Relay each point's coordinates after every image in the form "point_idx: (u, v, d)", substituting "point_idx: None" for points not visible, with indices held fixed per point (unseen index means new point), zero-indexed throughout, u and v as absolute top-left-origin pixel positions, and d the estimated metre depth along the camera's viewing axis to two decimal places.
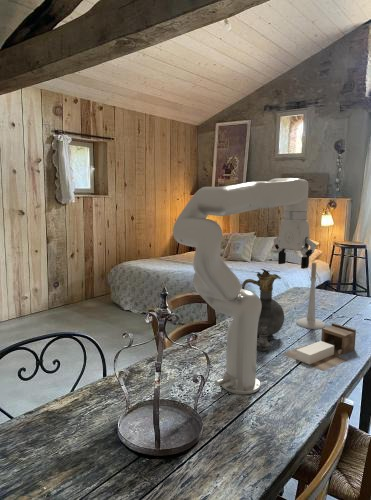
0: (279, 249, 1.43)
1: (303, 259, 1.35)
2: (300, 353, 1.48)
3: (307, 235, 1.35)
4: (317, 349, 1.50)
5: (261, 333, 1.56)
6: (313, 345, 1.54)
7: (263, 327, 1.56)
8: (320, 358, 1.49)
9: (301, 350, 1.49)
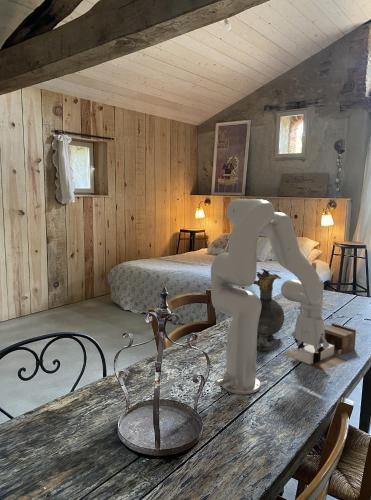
0: (298, 343, 1.51)
1: (315, 355, 1.46)
2: (300, 353, 1.48)
3: (322, 331, 1.44)
4: None
5: (261, 333, 1.56)
6: None
7: (263, 327, 1.56)
8: (320, 358, 1.49)
9: (301, 350, 1.49)
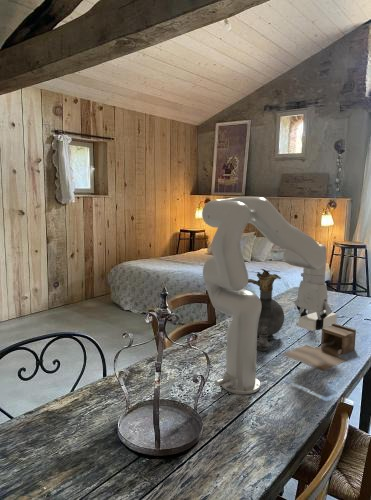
0: (301, 310, 1.50)
1: (318, 321, 1.44)
2: (303, 320, 1.46)
3: (325, 297, 1.43)
4: None
5: (261, 333, 1.56)
6: (316, 313, 1.52)
7: (263, 327, 1.56)
8: (323, 325, 1.47)
9: (304, 317, 1.47)
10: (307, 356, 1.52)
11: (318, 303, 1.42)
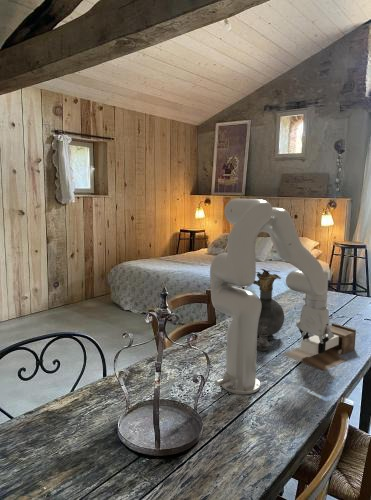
0: (303, 333, 1.52)
1: (320, 345, 1.47)
2: (305, 344, 1.49)
3: (327, 322, 1.45)
4: None
5: (261, 333, 1.56)
6: (318, 336, 1.55)
7: (263, 327, 1.56)
8: (325, 348, 1.50)
9: (306, 341, 1.50)
10: (307, 356, 1.52)
11: (320, 328, 1.44)
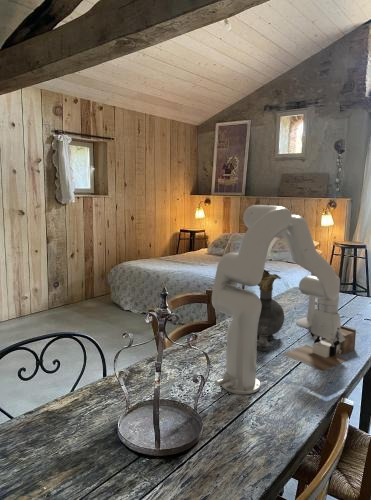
0: (314, 337, 1.57)
1: (331, 348, 1.52)
2: (317, 347, 1.54)
3: (339, 326, 1.50)
4: None
5: (261, 333, 1.56)
6: (328, 339, 1.60)
7: (263, 327, 1.56)
8: (336, 352, 1.55)
9: (317, 344, 1.55)
10: (307, 356, 1.52)
11: (332, 331, 1.49)
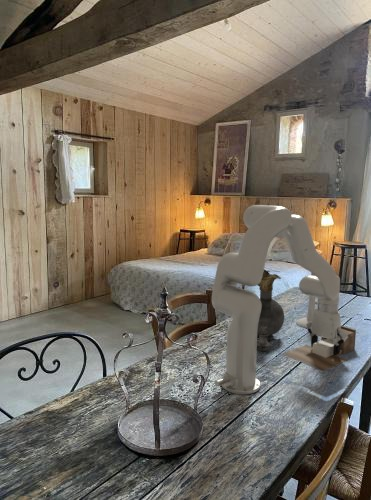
0: (312, 334, 1.58)
1: (335, 347, 1.50)
2: (317, 347, 1.54)
3: (339, 325, 1.50)
4: (333, 343, 1.56)
5: (261, 333, 1.56)
6: (328, 339, 1.60)
7: (263, 327, 1.56)
8: None
9: (317, 344, 1.55)
10: (307, 356, 1.52)
11: (332, 331, 1.49)
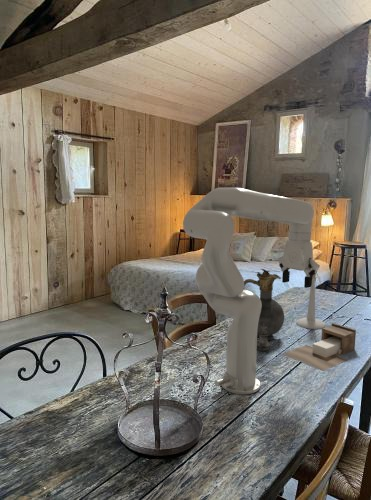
0: (283, 268, 1.48)
1: (306, 279, 1.41)
2: (317, 347, 1.54)
3: (311, 256, 1.41)
4: (333, 343, 1.56)
5: (261, 333, 1.56)
6: (328, 339, 1.60)
7: (263, 327, 1.56)
8: (336, 352, 1.55)
9: (317, 344, 1.55)
10: (307, 356, 1.52)
11: (303, 261, 1.40)
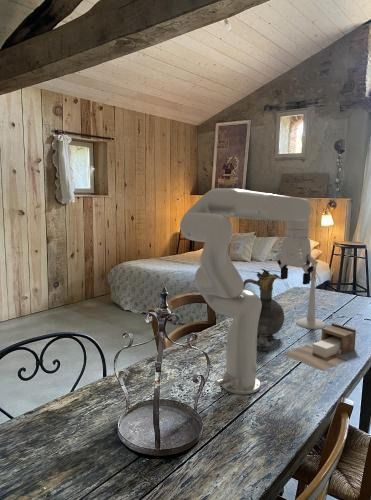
0: (281, 265, 1.48)
1: (305, 275, 1.40)
2: (317, 347, 1.54)
3: (308, 252, 1.40)
4: (333, 343, 1.56)
5: (261, 333, 1.56)
6: (328, 339, 1.60)
7: (263, 327, 1.56)
8: (336, 352, 1.55)
9: (317, 344, 1.55)
10: (307, 356, 1.52)
11: (301, 258, 1.39)
